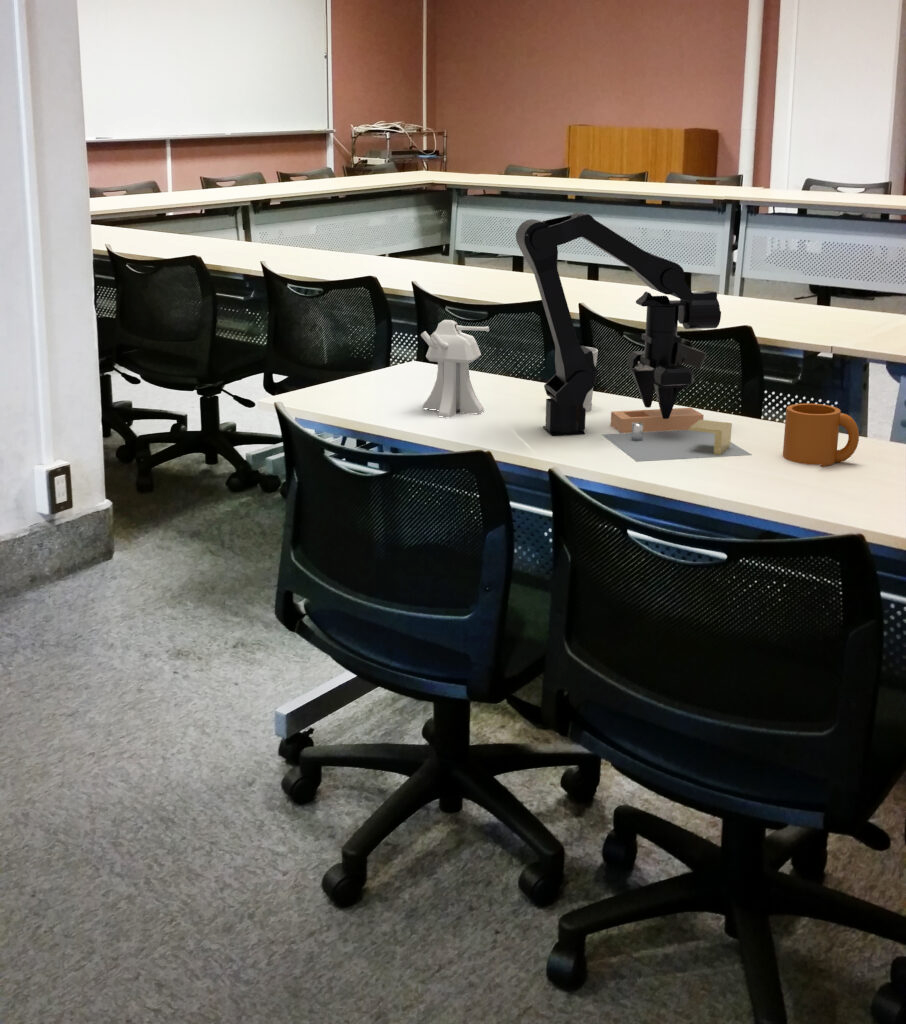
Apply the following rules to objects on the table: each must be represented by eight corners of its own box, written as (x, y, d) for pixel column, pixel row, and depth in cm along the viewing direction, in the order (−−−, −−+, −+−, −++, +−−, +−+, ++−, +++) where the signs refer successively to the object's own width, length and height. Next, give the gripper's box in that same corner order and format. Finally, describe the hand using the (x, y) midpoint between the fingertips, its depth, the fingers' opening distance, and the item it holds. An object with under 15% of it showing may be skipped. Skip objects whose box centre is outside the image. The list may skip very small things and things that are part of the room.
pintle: (633, 441, 214) (634, 425, 213) (629, 438, 216) (630, 422, 215) (644, 440, 215) (644, 424, 214) (640, 438, 216) (640, 422, 215)
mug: (846, 473, 197) (851, 420, 194) (775, 462, 203) (778, 411, 201) (861, 459, 204) (866, 408, 201) (792, 450, 211) (796, 400, 208)
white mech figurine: (478, 420, 231) (479, 327, 225) (414, 415, 235) (413, 323, 229) (496, 407, 241) (497, 318, 236) (434, 402, 245) (434, 314, 240)
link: (621, 434, 220) (621, 419, 219) (610, 427, 226) (611, 411, 225) (702, 430, 223) (703, 414, 223) (689, 422, 229) (690, 407, 228)
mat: (636, 463, 202) (636, 461, 202) (601, 436, 219) (601, 434, 219) (751, 457, 206) (752, 454, 206) (708, 430, 223) (708, 428, 223)
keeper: (688, 451, 208) (689, 426, 207) (698, 443, 213) (700, 419, 212) (720, 455, 206) (722, 430, 204) (729, 447, 211) (731, 423, 209)
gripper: (723, 337, 212) (717, 422, 217) (683, 320, 229) (678, 400, 234) (664, 339, 210) (659, 425, 214) (628, 322, 227) (624, 402, 232)
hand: (656, 412), depth 224 cm, fingers open, 9 cm apart
